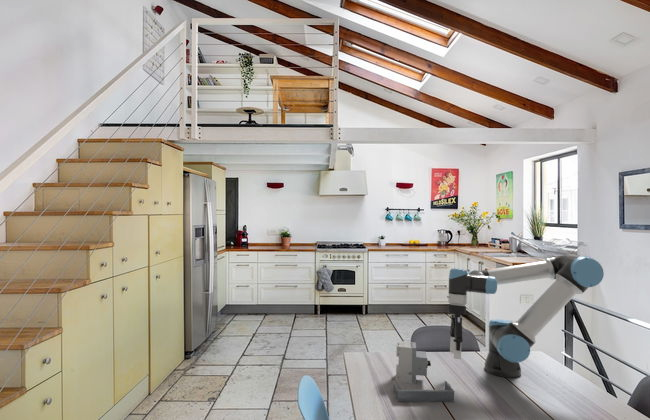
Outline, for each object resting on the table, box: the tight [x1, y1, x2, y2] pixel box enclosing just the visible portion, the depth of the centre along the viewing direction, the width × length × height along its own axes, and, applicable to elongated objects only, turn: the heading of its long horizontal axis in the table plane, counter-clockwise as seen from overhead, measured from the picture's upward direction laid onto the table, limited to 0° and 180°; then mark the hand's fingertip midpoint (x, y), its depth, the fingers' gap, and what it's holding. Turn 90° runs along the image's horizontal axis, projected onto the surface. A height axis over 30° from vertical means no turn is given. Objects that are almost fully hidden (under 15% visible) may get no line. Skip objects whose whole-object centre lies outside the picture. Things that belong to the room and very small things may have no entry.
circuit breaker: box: [395, 340, 432, 385], centre depth 161 cm, size 8×14×15 cm, turn 78°
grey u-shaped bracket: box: [392, 380, 455, 403], centre depth 146 cm, size 22×9×4 cm, turn 91°
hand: (455, 355), depth 159 cm, fingers open, 13 cm apart
